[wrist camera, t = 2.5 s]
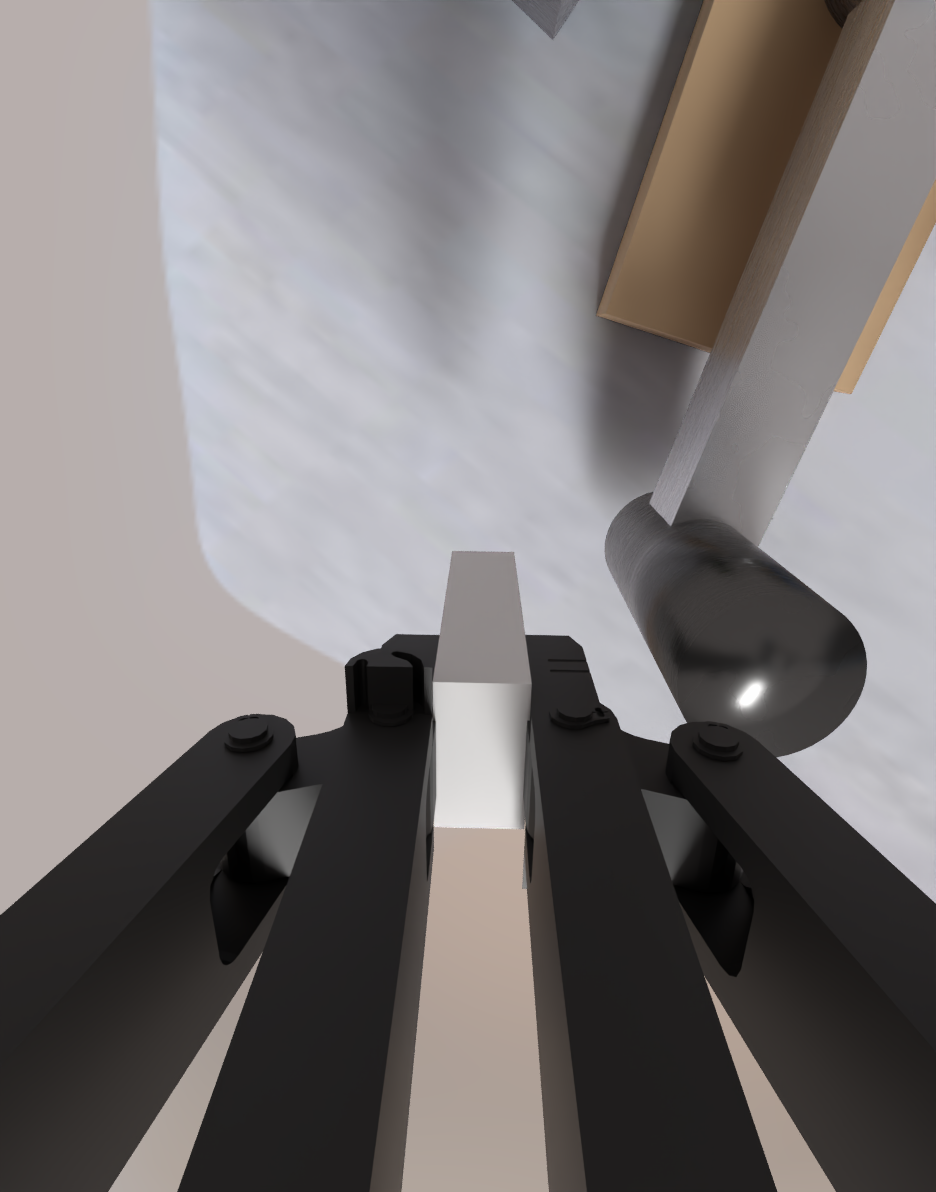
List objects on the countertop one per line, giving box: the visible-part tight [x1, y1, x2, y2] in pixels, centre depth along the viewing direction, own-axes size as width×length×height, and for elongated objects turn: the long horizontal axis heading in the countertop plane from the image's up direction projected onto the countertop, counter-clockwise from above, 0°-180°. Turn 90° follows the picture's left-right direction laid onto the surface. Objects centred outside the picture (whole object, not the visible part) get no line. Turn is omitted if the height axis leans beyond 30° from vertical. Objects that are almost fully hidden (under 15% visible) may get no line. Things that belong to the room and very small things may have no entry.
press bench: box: [596, 0, 936, 394], centre depth 18 cm, size 8×18×2 cm, turn 163°
